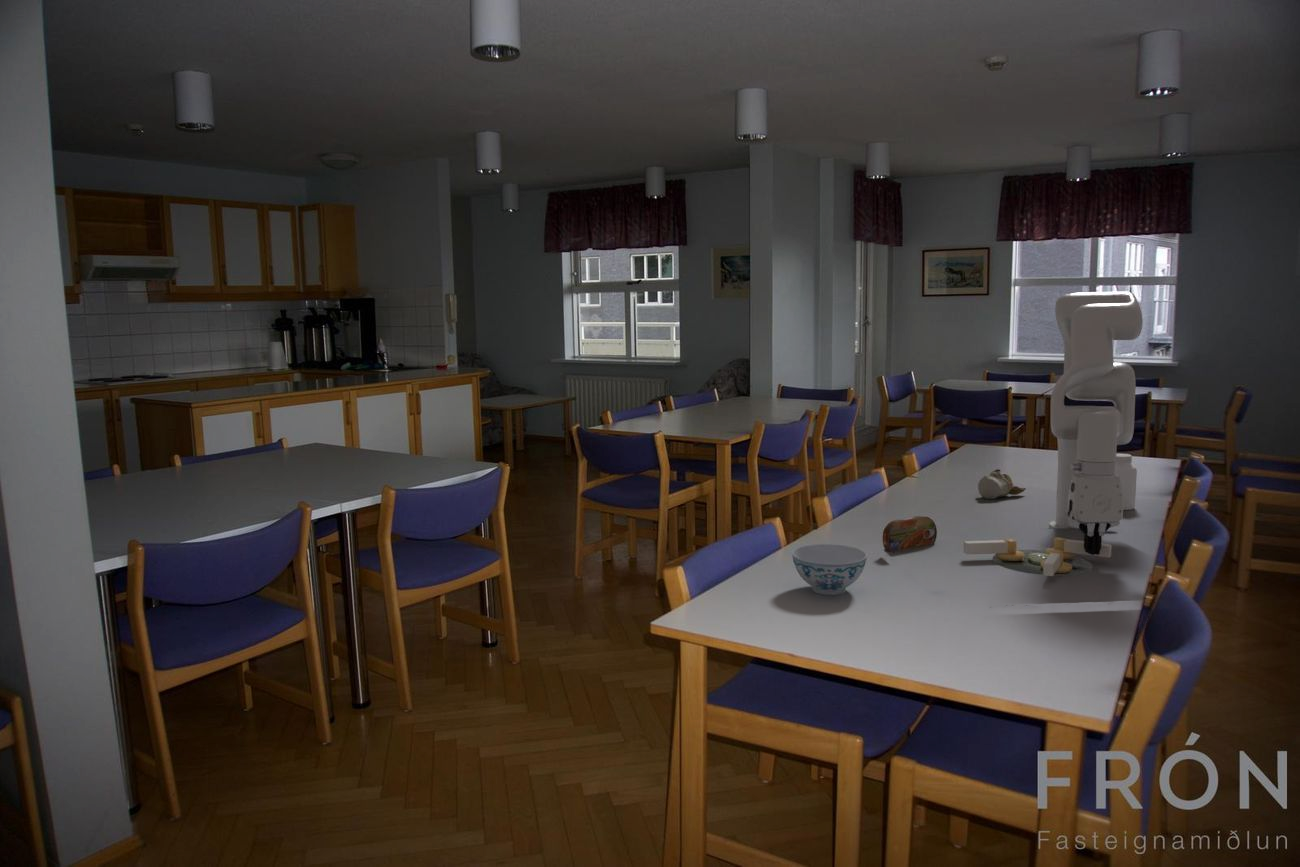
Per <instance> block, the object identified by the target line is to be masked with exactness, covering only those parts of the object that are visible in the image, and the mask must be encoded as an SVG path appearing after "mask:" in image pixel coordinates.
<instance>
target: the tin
mask: <svg viewBox="0 0 1300 867" xmlns="http://www.w3.org/2000/svg"><path fill="white" fill-rule="evenodd" d="M937 534H938V530H937V525H936V523H935V522H934V520H933V519H932V518H930V517H929V516H922V515H917V516H915V515H914V516H911V517H905V518H900V519H894V520H891V521H889V523H887V525H885V527H884V529H883V532H882V545H883V548H884V550H886V551H889V552H892V553H893V552H896V551H901V550H906V549H911V548H916V547H922V546H926V545H934V544H936V540H937V537H938V536H937Z"/></svg>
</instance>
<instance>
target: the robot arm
mask: <svg viewBox="0 0 1300 867" xmlns="http://www.w3.org/2000/svg"><path fill="white" fill-rule="evenodd" d="M1139 303H1140V302H1138V299H1137V297H1136V296H1135V294H1134V293H1132V292H1130V291H1088V292H1086V291H1085V292H1084V291H1083V292H1073V293H1066V294H1063V295H1061V296H1060V297H1058V298H1057V299H1056V302H1055V308H1054V312H1055V319H1056V323H1057V326H1058V329H1059V332H1060V334H1061V336H1062V340H1063V345H1064V352H1063V353H1064V354H1063V357H1064V358H1063V374H1061V375H1060V377H1059V378H1058V380H1057V381H1056V383H1055V385H1054V386H1053V389H1052V391H1051V392H1052V393H1051V396H1050V428H1051V433H1052V435H1053V436H1054V437H1055V438H1057V474H1056V476H1057V477H1056V480H1057V481H1056V500H1055V501H1056V503H1055V504H1056V505H1055V507H1056V508H1055V520H1051V521H1050V522H1049V523H1048V528H1049V530H1054V529H1078V530H1079V531H1081V533H1082V534H1083V541H1084V549H1085V552H1087V553H1089V554H1091V555H1090V556H1093V555H1094V554H1096V555H1099V554H1100V549H1101V543H1102V539H1103V538H1102V537H1104V536H1105V535H1106V532H1107V531H1108V530H1109V529H1110V528H1114V527H1117V526H1120V522H1121V521H1122V520H1123V516H1124V515H1123V514H1124V510H1123V496H1122V487H1121V481H1120V476H1119V475H1115V473H1116V454H1117V446H1121V445H1127V444H1129V443H1130V442H1131V440H1132V439H1133V437H1134V436H1133V435H1134V431H1135V416H1136V415H1135V411H1136V410H1135V407H1136V387H1137V386H1136V375H1135V370H1134V368H1133V367H1132V366H1131V365H1130V364H1128V363H1126V362H1119V361H1118V362H1115V361H1114V344H1113V342H1114V341H1134V340H1136V339H1138V338H1139V337H1140V335H1141V333H1142V330H1143V320H1144V319H1143V313H1142V312H1143V311H1142V308H1141V305H1140V304H1139ZM1065 397H1067V398H1068V399H1069V400H1074V401H1086V402H1087V401H1088V402H1090V401H1091V402H1092V401H1094V402H1095V401H1096V402H1099V401H1100V402H1112V403H1113V406H1107V405H1106V406H1105V405H1104V406H1099V405H1098V406H1097V405H1065Z"/></svg>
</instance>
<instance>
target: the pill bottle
mask: <svg viewBox="0 0 1300 867" xmlns="http://www.w3.org/2000/svg"><path fill="white" fill-rule="evenodd" d="M1132 460H1133V455H1132V454H1129V453H1118V452H1117V453H1116V473H1115V475H1119V476H1120V481H1121V487H1122V496H1123V511H1129V510H1134V509H1135V507H1136V506H1135V505H1136V495H1137V494H1136V492H1137V479H1138V478H1137V476H1138V475H1137V474H1138V470H1137V466H1135V465H1134V464H1132V463H1133V462H1132Z"/></svg>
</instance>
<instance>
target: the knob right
mask: <svg viewBox="0 0 1300 867" xmlns="http://www.w3.org/2000/svg"><path fill="white" fill-rule="evenodd" d="M1050 550H1061V551H1063V559H1073V558H1075V556H1076V554H1078V555H1085V556H1095V557H1101V558H1111V557H1112V544H1111V543H1110V544H1109V543H1102V542H1101V549H1100V554H1099V555H1096V554H1094V555H1091V554H1089V553H1087V552H1085V549H1084V540H1078V539H1077V540H1076V539H1069V538H1065V537H1059V536H1058V537H1053V547H1047V548H1045V550H1044V551H1045V554H1050Z"/></svg>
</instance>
